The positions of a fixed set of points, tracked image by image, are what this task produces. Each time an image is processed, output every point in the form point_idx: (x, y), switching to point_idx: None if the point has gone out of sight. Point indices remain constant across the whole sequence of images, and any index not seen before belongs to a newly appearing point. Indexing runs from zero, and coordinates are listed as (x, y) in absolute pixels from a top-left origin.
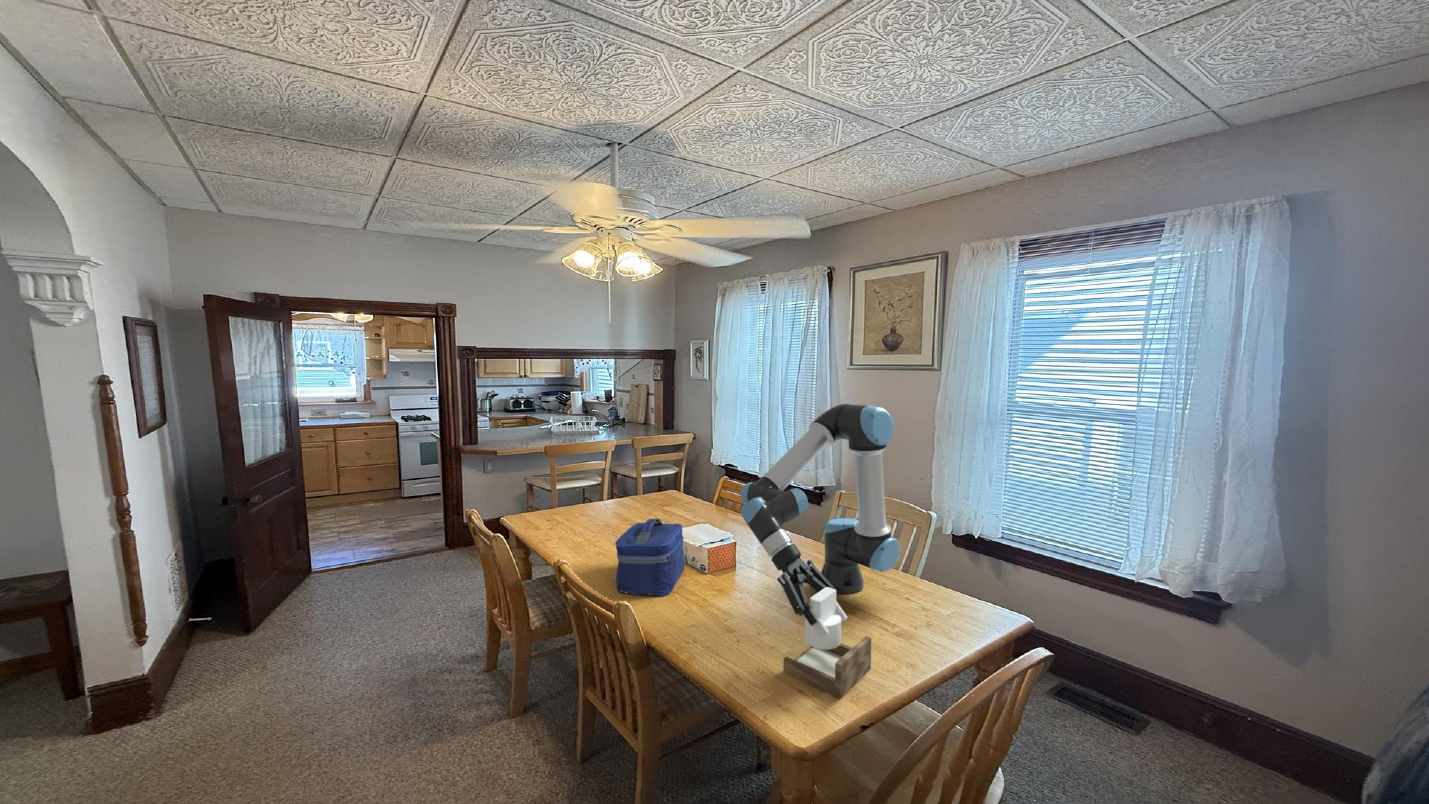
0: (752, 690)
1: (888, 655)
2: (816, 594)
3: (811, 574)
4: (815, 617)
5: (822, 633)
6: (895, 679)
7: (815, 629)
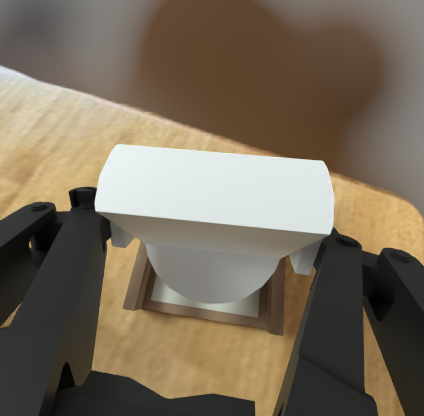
0: (374, 361)
1: None
2: (245, 219)
3: (32, 341)
4: None
5: None
6: (177, 147)
7: None
